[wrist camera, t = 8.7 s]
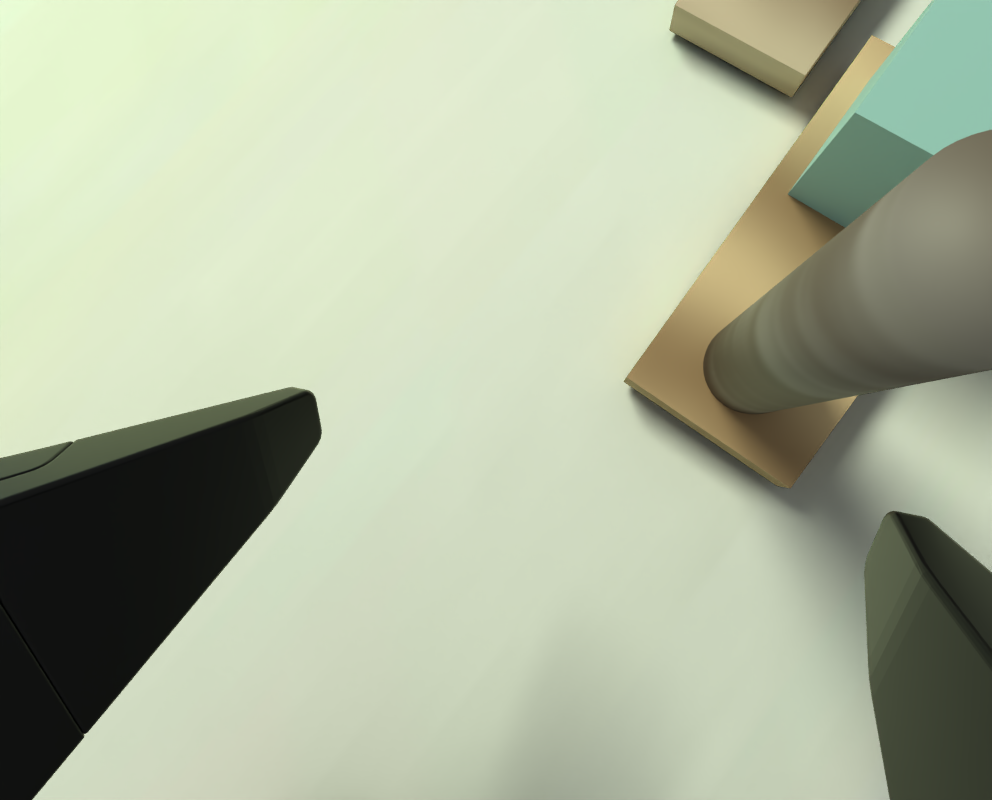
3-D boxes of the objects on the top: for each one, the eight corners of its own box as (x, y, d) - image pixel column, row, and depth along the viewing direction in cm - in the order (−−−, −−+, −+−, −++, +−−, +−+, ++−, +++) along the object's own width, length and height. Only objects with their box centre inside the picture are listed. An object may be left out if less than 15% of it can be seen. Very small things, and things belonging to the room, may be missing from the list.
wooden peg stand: (776, 486, 19) (1137, 552, 7) (623, 381, 20) (696, 274, 8) (1021, 148, 19) (1840, -407, 7) (853, 60, 20) (1298, -564, 8)
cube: (917, 269, 18) (1032, 208, 13) (787, 194, 18) (854, 112, 14) (1003, 149, 18) (1149, 48, 13) (870, 78, 18) (964, -41, 14)
